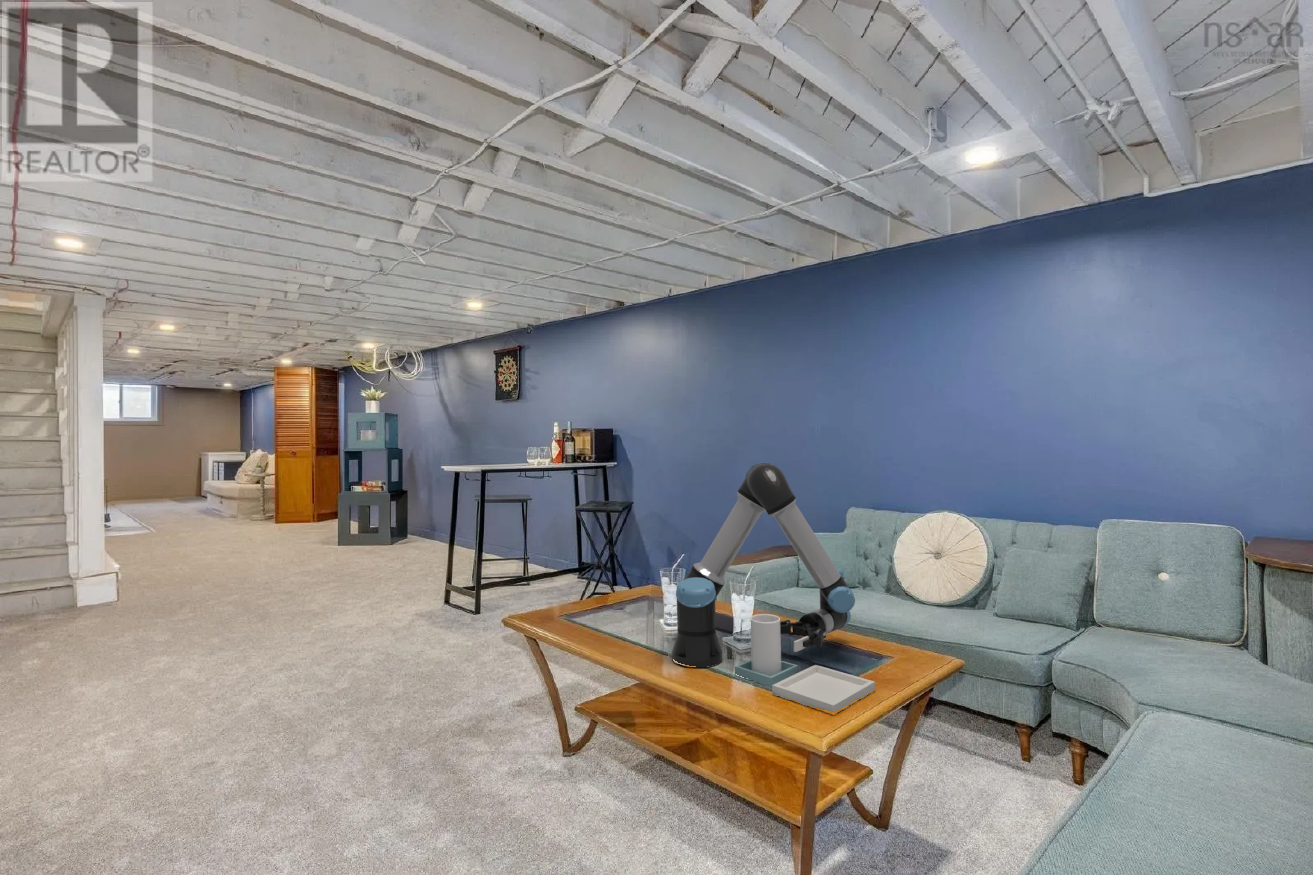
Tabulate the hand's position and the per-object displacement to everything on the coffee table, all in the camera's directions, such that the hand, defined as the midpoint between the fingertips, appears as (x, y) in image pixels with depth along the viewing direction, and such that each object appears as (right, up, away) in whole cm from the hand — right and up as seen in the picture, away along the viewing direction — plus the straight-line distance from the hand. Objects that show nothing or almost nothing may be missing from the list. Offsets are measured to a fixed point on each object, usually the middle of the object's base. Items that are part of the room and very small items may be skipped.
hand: (774, 641), depth 181 cm
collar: (-2, -9, -1) cm, 9 cm away
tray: (+10, -9, -15) cm, 20 cm away
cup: (-2, -9, -1) cm, 10 cm away
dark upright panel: (-10, -10, +47) cm, 49 cm away
